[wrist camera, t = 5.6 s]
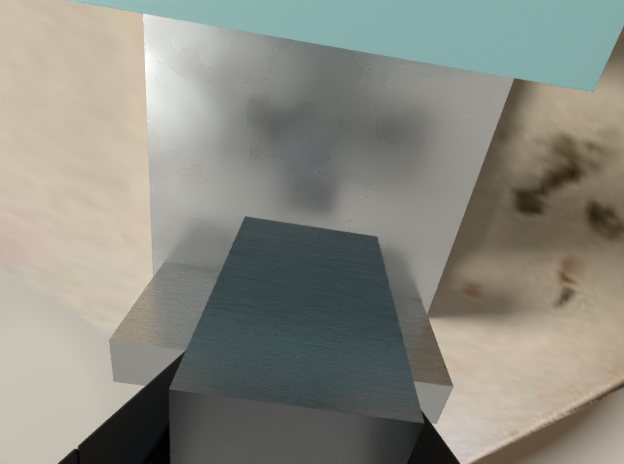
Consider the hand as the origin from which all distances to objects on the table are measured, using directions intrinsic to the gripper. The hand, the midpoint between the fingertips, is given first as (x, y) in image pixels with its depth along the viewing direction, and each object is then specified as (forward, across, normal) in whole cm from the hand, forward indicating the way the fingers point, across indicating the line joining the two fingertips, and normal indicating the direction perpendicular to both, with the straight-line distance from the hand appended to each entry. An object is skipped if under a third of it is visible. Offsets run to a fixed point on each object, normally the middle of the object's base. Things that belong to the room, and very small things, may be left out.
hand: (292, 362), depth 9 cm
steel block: (+2, 0, 0) cm, 2 cm away
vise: (+9, 0, -3) cm, 10 cm away
